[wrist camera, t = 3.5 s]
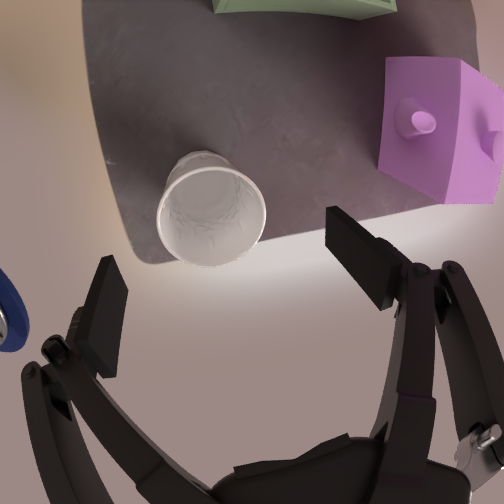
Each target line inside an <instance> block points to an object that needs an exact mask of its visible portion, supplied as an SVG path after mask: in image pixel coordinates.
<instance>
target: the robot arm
mask: <svg viewBox="0 0 504 504" xmlns="http://www.w3.org/2000/svg"><path fill="white" fill-rule="evenodd" d="M325 233H326V235H325V246H326V247H327V248H328V249H329V250H330V252H331V253H332V254H333V255H334V256H335V257H336V258H337V259H338V261H339V262H340V263H341V264H342V265H343V267H344V268H345V269H346V270H347V271H348V272H349V274H350V275H351V276H352V277H353V278H354V280H355V281H356V282H357V283H358V284H359V286H360V287H361V288H362V289H363V290H364V292H365V293H366V294H367V295H368V297H369V298H370V299H371V300H372V301H373V303H374V304H375V305H376V306H377V308H378V309H379V310H380V311H382V310H385V309H387V308H389V307H392V305H393V301H394V298H395V299H396V300H397V301H398V302H399V303H398V306H397V310H396V313H395V316H394V318H396V322H395V330H394V337H393V344H392V350H391V356H390V361H389V367H388V372H387V377H386V382H385V386H384V391H383V396H382V399H381V403H380V407H379V411H378V415H377V419H376V422H375V424H374V426H373V429H372V431H371V433H370V436H369V438H368V437H349V435H348V433H346V434H343V435H341V436H338V437H336V438H334V439H331V440H328V441H325V442H323V443H320V444H319V445H318V446H316V447H314V448H312V449H311V450H309V451H308V452H306V453H304V454H303V455H301V456H299V457H298V458H296V459H291V460H276V461H275V460H273V461H259V462H255V463H250V464H246V465H241V466H236V467H233V468H234V472H233V473H231V474H229V475H227V476H225V477H224V478H222V479H221V480H220V481H218V482H217V483H216V484H215V485H214V486H213V487H212V489H211V488H209V487H208V486H207V485H205V484H204V483H202V482H201V481H199V480H198V479H196V478H195V477H194V476H192V475H191V474H189V473H188V472H187V471H186V470H185V469H183V468H182V467H181V466H180V465H179V464H177V463H176V462H175V461H174V460H173V459H171V458H170V457H169V456H168V455H167V454H166V453H165V452H164V451H163V450H161V449H160V448H159V447H158V446H157V445H156V444H155V443H154V442H153V441H152V440H151V439H150V438H149V437H148V436H147V435H146V434H145V433H144V432H143V431H142V430H141V429H140V428H139V427H138V426H137V425H136V424H135V423H134V422H133V421H132V420H131V419H130V418H129V417H128V415H126V414H125V412H124V411H123V410H122V409H121V408H120V407H119V405H118V404H117V403H116V402H115V401H114V400H113V398H112V397H111V396H110V395H109V394H108V392H107V391H106V390H105V389H104V388H103V386H102V385H101V384H100V383H99V381H98V380H97V379H96V375H97V372H98V373H99V375H100V376H101V377H102V378H103V379H104V378H113V377H116V374H117V364H118V355H119V347H120V339H121V332H122V325H123V319H124V312H125V307H126V301H127V296H128V289H127V286H126V284H125V282H124V280H123V278H122V275H121V273H120V271H119V269H118V266H117V264H116V262H115V259H114V257H113V255H109V256H105V257H102V258H101V260H100V263H99V265H98V268H97V270H96V273H95V276H94V278H93V281H92V284H91V286H90V289H89V292H88V295H87V298H86V301H85V304H84V306H82V307H78V309H77V310H76V311H75V313H74V314H73V317H72V320H71V324H70V326H69V330H68V333H67V336H66V339H65V340H64V339H63V337H61V336H60V335H53V336H51V337H49V338H48V339H47V340H46V341H45V342H44V343H43V345H42V348H41V352H42V355H43V356H44V357H45V358H46V359H47V361H48V362H49V364H47V365H45V366H43V367H41V366H40V365H39V364H38V363H37V362H35V361H32V362H30V363H28V364H27V365H26V366H25V367H24V368H23V370H22V373H21V382H22V392H23V400H24V407H25V413H26V419H27V425H28V429H29V435H30V440H31V444H32V448H33V452H34V455H35V459H36V463H37V466H38V470H39V473H40V476H41V479H42V482H43V485H44V488H45V490H46V493H47V496H48V498H49V501H50V504H114V503H113V501H112V499H111V498H110V496H109V494H108V492H107V490H106V488H105V486H104V484H103V482H102V480H101V478H100V476H99V474H98V472H97V470H96V468H95V465H94V463H93V461H92V459H91V457H90V454H89V452H88V449H87V447H86V444H85V442H84V439H83V437H82V434H81V431H80V428H79V426H78V423H77V420H76V417H75V414H74V411H73V408H72V404H71V401H70V400H72V402H73V404H74V405H75V407H76V408H77V410H78V411H79V413H80V414H81V416H82V418H83V419H84V420H85V422H86V423H87V425H88V426H89V427H90V429H91V430H92V432H93V433H94V434H95V436H96V437H97V439H98V440H99V441H100V443H101V444H102V445H103V446H104V448H105V449H106V450H107V451H108V453H109V454H110V455H111V456H112V458H113V459H114V460H115V461H116V462H117V463H118V464H119V466H120V467H121V468H122V469H123V470H124V471H125V472H126V474H127V475H128V476H129V477H130V478H131V479H132V480H133V481H134V482H135V484H136V489H137V491H138V492H139V493H140V494H141V495H142V496H143V497H144V498H145V499H146V500H147V501H148V502H149V503H150V504H471V493H472V492H474V491H475V490H476V489H478V488H479V487H480V486H481V485H483V484H484V483H485V482H486V481H488V480H489V479H490V478H491V477H493V476H494V475H495V474H496V473H497V472H498V471H500V470H501V469H502V468H504V361H503V358H502V355H501V352H500V349H499V346H498V344H497V341H496V338H495V336H494V333H493V331H492V328H491V326H490V323H489V321H488V319H487V316H486V314H485V311H484V309H483V307H482V305H481V303H480V301H479V298H478V296H477V294H476V292H475V290H474V288H473V286H472V284H471V282H470V280H469V278H468V277H467V275H466V273H465V271H464V269H463V268H462V266H461V265H460V264H458V263H457V262H454V261H445V262H443V264H442V268H441V269H437V270H431V269H430V268H429V267H428V266H427V265H425V264H422V263H412V262H411V261H410V260H409V259H408V258H407V257H406V256H405V255H403V254H402V253H401V252H400V251H398V249H397V248H395V247H393V245H392V244H391V243H390V242H388V241H387V240H385V239H383V238H380V237H378V238H375V237H374V236H373V235H372V234H370V233H369V232H368V231H367V230H366V229H365V228H363V227H362V226H361V225H360V224H359V223H358V222H356V221H355V220H354V219H353V218H351V217H350V216H349V215H348V214H347V213H345V212H344V211H343V210H342V209H340V208H339V207H338V206H331V207H326V232H325ZM435 326H436V329H437V333H438V337H439V340H440V344H441V348H442V352H443V356H444V361H445V365H446V370H447V375H448V380H449V386H450V391H451V397H452V404H453V411H454V419H455V425H456V431H457V435H458V439H459V442H460V443H459V445H458V447H457V451H456V453H455V455H454V459H455V461H456V462H457V467H456V468H454V467H450V466H447V465H444V464H441V463H438V462H435V461H432V460H429V459H427V457H428V453H429V449H430V443H431V438H432V432H433V427H434V420H435V413H436V399H435V398H433V397H432V388H433V387H432V386H433V376H434V360H435ZM8 332H9V321H8V317H7V314H6V312H5V310H4V308H3V306H2V304H1V302H0V345H1V344H2V343H3V342H4V340H5V339H6V336H7V334H8Z"/></svg>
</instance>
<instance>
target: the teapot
mask: <svg viewBox="0 0 504 504" xmlns="http://www.w3.org/2000/svg"><path fill="white" fill-rule="evenodd" d="M503 159H504V91H503V90H502V89H501V88H500V87H498V86H497V85H496V84H494V83H493V82H492V81H491V80H489V79H488V78H486V77H485V76H484V75H483V74H481V73H480V72H478V71H477V70H476V69H474V68H473V67H471V66H470V65H468V64H467V63H465V62H464V61H462V60H461V59H459V58H449V57H427V56H404V57H386V65H385V95H384V111H383V124H382V134H381V144H380V153H379V161H378V169H377V170H379V171H381V172H383V173H385V174H387V175H389V176H391V177H393V178H395V179H397V180H399V181H401V182H403V183H405V184H407V185H409V186H411V187H412V188H414V189H416V190H418V191H420V192H422V193H423V194H425V195H427V196H429V197H430V198H432V199H434V200H436V201H437V202H439V203H441V204H493V203H494V199H495V196H496V192H497V188H498V183H499V179H500V174H501V170H502V164H503Z"/></svg>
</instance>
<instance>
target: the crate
mask: <svg viewBox="0 0 504 504" xmlns="http://www.w3.org/2000/svg"><path fill="white" fill-rule="evenodd" d="M212 2H213V10H214V14H216V13H228V12H245V11H284V12H301V13H313V14H322V15H330V16H337V17H343V18H349V19H355V20H363V19H367V18H371V17H375V16H379V15H383V14H388V13H392V12H397V7H396V2H395V0H212Z"/></svg>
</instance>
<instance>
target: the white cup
mask: <svg viewBox="0 0 504 504" xmlns="http://www.w3.org/2000/svg"><path fill="white" fill-rule="evenodd" d="M265 221H266V207H265V203H264V199H263V197H262V194H261V192H260V191H259V189H258V188H257V186H256V185H255V184H254V183H253V182H252V181H251V180H250V179H249V178H248V177H247V176H246V175H245V174H244V173H242V172H241V171H240V170H239V169H238V168H237V167H236V166H235V165H234V164H232V163H231V162H230V161H228V160H227V159H225V158H223V157H222V156H221V155H219V154H216V153H213V152H210V151H207V150H204V151H195V152H191V153H189V154H187V155H186V156H184V157H183V158H181V159H179V160H178V162H177V163H176V165H175V166H174V168H173V169H172V171H171V173H170V175H169V177H168V179H167V182H166V184H165V187H164V190H163V193H162V197H161V200H160V203H159V206H158V210H157V230H158V233H159V236H160V239H161V241H162V243H163V244H164V246H165V247H166V249H167V250H168V251H169V252H170V253H171V254H172V255H173V256H174V257H176V258H177V259H179V260H180V261H182V262H184V263H186V264H189V265H193V266H197V267H205V268H211V267H219V266H224V265H227V264H230V263H232V262H234V261H236V260H238V259H240V258H241V257H243V256H244V255H246V254H247V253H248V252H249V251H250V250H251V249H252V248H253V247H254V246H255V244H256V243H257V242H258V240H259V238H260V236H261V234H262V232H263V229H264V226H265Z"/></svg>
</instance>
